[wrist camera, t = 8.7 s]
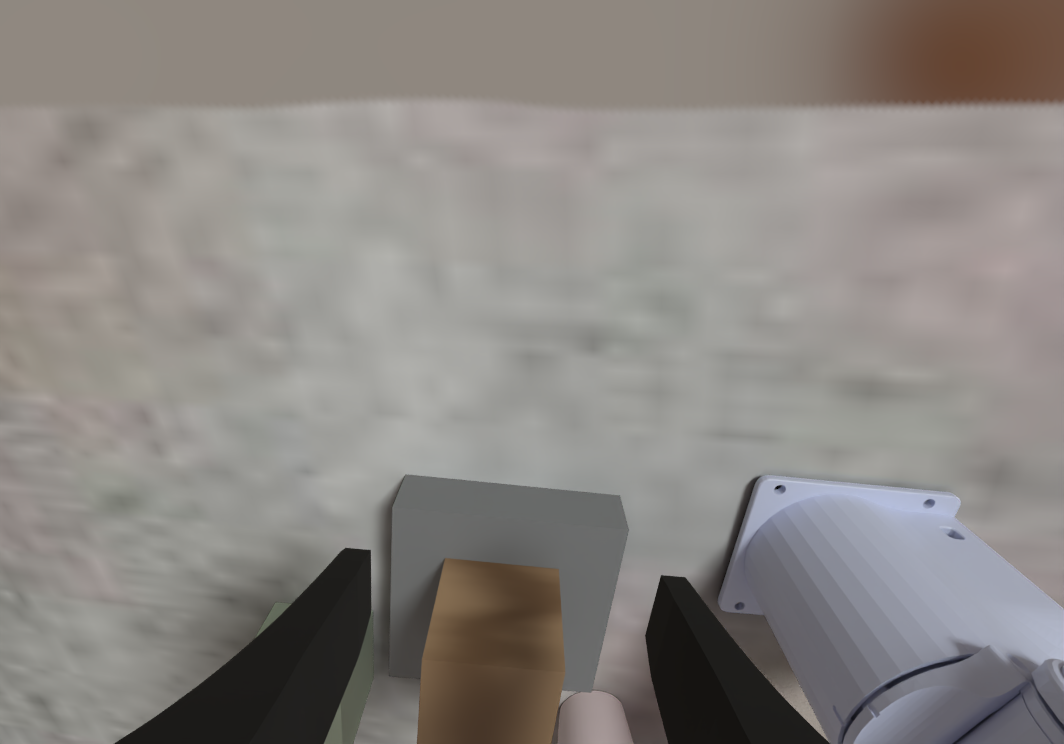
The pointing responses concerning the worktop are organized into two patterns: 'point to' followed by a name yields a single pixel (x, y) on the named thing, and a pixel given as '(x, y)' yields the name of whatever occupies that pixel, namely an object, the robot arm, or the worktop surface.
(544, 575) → the walnut cube
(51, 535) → the worktop surface
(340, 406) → the worktop surface
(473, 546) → the charcoal slab
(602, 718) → the smoothie
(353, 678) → the sage block
